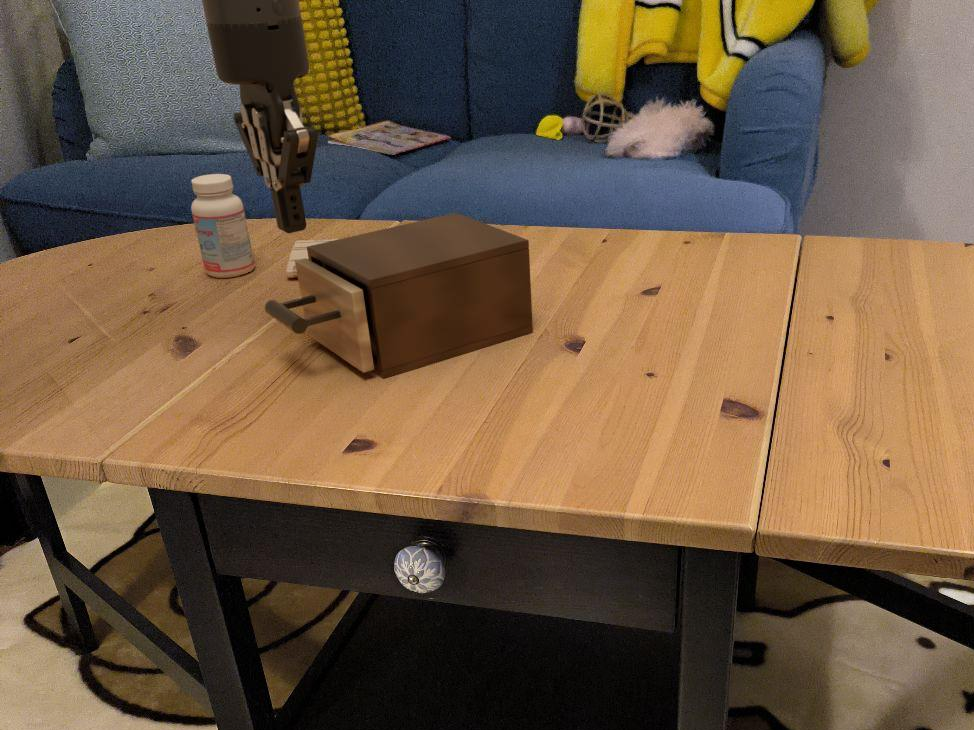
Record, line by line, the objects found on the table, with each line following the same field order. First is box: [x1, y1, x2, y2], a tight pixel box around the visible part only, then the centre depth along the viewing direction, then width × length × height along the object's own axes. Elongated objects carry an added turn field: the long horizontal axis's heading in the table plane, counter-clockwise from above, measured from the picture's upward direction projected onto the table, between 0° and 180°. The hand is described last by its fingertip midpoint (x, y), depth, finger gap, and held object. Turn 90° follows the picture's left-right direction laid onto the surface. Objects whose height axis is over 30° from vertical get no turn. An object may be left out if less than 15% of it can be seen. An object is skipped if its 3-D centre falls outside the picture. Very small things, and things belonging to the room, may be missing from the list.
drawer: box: [264, 258, 377, 374], centre depth 96 cm, size 22×12×8 cm, turn 126°
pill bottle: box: [190, 173, 256, 279], centre depth 118 cm, size 6×6×11 cm
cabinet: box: [307, 212, 534, 379], centre depth 98 cm, size 18×14×10 cm
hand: (292, 229), depth 88 cm, fingers closed
